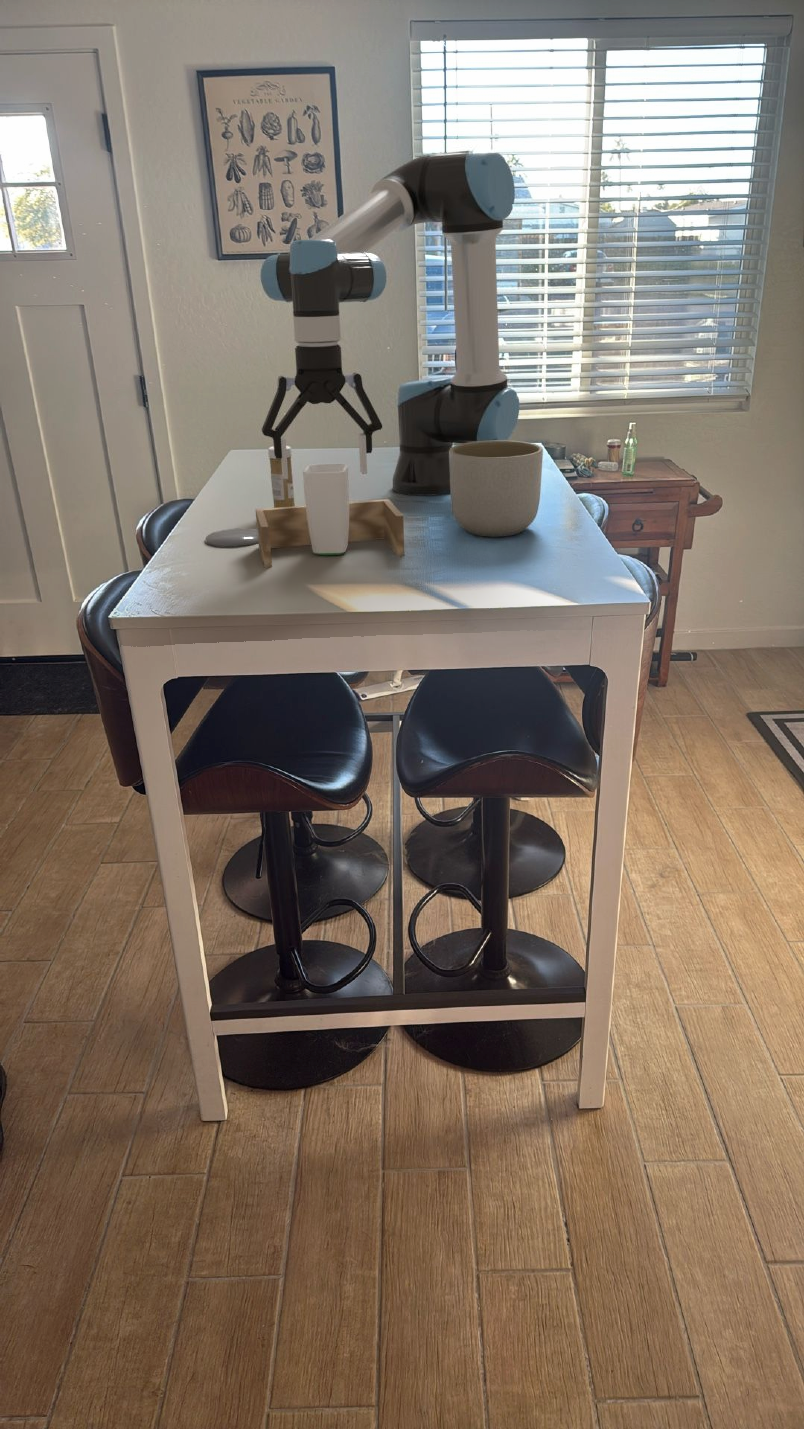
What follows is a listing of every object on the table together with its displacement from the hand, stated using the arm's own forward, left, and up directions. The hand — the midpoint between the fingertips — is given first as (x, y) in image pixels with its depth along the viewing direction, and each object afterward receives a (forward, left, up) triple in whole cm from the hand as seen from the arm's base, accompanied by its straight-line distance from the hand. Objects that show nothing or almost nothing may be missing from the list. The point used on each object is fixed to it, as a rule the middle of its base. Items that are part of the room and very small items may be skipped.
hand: (324, 475), depth 171 cm
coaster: (+16, -14, -14) cm, 25 cm away
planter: (-32, -5, -14) cm, 36 cm away
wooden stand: (0, 0, -14) cm, 14 cm away
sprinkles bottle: (+5, -31, -14) cm, 35 cm away
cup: (0, 0, -14) cm, 14 cm away
